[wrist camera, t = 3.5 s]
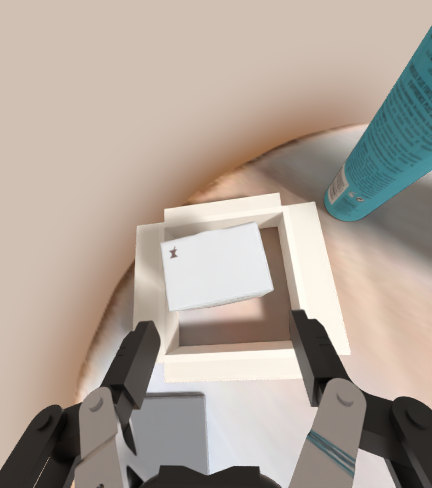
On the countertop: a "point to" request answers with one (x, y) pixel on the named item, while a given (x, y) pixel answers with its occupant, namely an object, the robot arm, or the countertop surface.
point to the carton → (297, 274)
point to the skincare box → (215, 268)
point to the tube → (389, 144)
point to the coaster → (172, 433)
